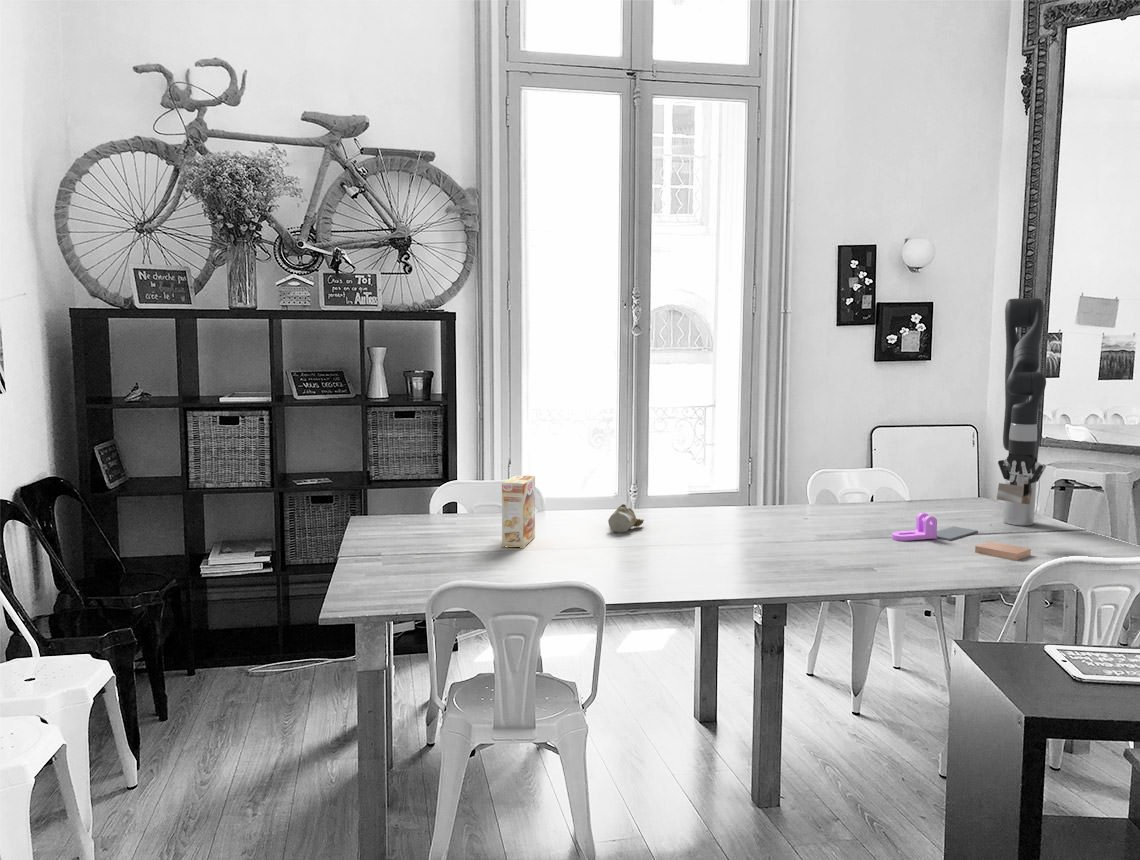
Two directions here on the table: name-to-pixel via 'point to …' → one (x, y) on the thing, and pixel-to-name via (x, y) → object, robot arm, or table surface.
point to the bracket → (919, 529)
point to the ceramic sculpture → (623, 519)
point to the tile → (1002, 550)
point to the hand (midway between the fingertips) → (1019, 494)
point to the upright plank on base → (1013, 493)
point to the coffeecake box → (518, 511)
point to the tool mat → (954, 533)
